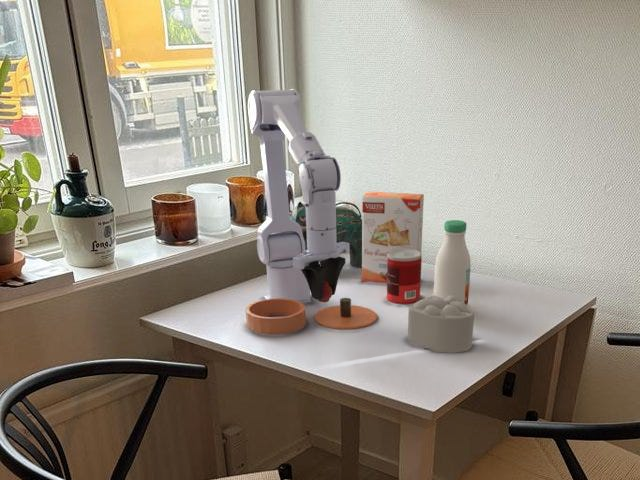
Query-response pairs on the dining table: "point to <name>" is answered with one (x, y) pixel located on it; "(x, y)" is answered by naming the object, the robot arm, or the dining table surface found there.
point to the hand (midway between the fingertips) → (323, 296)
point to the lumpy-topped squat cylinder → (441, 324)
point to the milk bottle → (453, 263)
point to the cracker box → (388, 229)
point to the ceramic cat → (339, 229)
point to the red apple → (326, 292)
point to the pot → (275, 324)
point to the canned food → (403, 276)
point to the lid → (345, 316)
